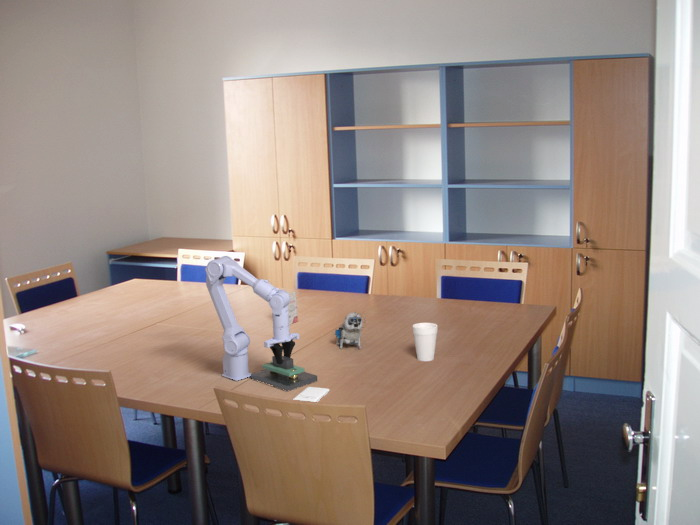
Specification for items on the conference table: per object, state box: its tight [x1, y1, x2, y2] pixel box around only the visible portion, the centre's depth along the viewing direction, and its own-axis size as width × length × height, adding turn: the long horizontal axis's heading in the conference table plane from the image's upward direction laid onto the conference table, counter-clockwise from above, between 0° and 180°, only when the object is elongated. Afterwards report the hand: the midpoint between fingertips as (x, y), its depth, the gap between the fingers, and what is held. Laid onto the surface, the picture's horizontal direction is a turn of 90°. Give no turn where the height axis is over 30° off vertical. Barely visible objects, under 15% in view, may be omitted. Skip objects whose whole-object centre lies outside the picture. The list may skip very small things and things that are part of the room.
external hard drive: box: [293, 386, 330, 403], centre depth 247 cm, size 2×8×12 cm
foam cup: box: [412, 322, 439, 362], centre depth 282 cm, size 10×9×13 cm
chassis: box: [250, 369, 318, 392], centre depth 264 cm, size 20×14×5 cm
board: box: [261, 355, 306, 377], centre depth 263 cm, size 15×7×4 cm, turn 45°
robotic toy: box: [334, 311, 366, 350], centre depth 302 cm, size 13×17×15 cm
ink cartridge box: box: [285, 290, 299, 326], centre depth 342 cm, size 9×5×15 cm, turn 147°
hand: (283, 362), depth 263 cm, fingers closed on board, 3 cm apart
